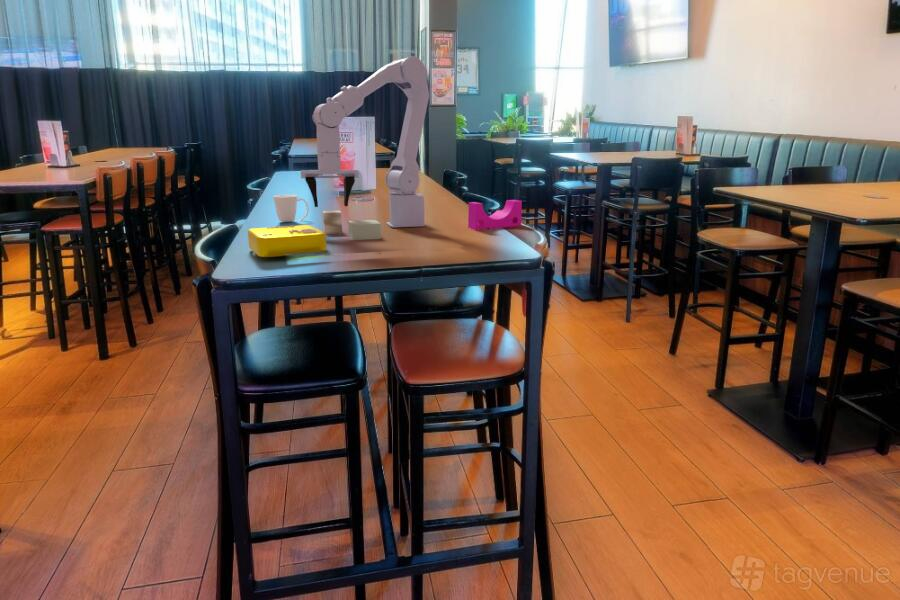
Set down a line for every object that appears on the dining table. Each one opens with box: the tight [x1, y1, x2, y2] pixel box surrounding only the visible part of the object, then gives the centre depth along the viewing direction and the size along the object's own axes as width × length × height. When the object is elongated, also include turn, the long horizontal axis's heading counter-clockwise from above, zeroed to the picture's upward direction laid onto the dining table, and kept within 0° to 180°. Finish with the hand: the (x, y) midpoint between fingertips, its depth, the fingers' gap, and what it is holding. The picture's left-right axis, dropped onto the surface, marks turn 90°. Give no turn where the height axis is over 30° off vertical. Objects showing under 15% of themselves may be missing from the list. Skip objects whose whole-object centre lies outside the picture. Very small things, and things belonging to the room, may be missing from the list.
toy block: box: [467, 199, 523, 231], centre depth 169 cm, size 15×6×8 cm, turn 119°
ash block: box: [321, 210, 343, 235], centre depth 160 cm, size 4×4×6 cm
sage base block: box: [347, 219, 382, 241], centre depth 153 cm, size 7×7×4 cm
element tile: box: [247, 224, 327, 258], centre depth 138 cm, size 15×15×5 cm
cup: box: [273, 194, 310, 223], centre depth 175 cm, size 7×10×8 cm
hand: (331, 206), depth 159 cm, fingers open, 7 cm apart
